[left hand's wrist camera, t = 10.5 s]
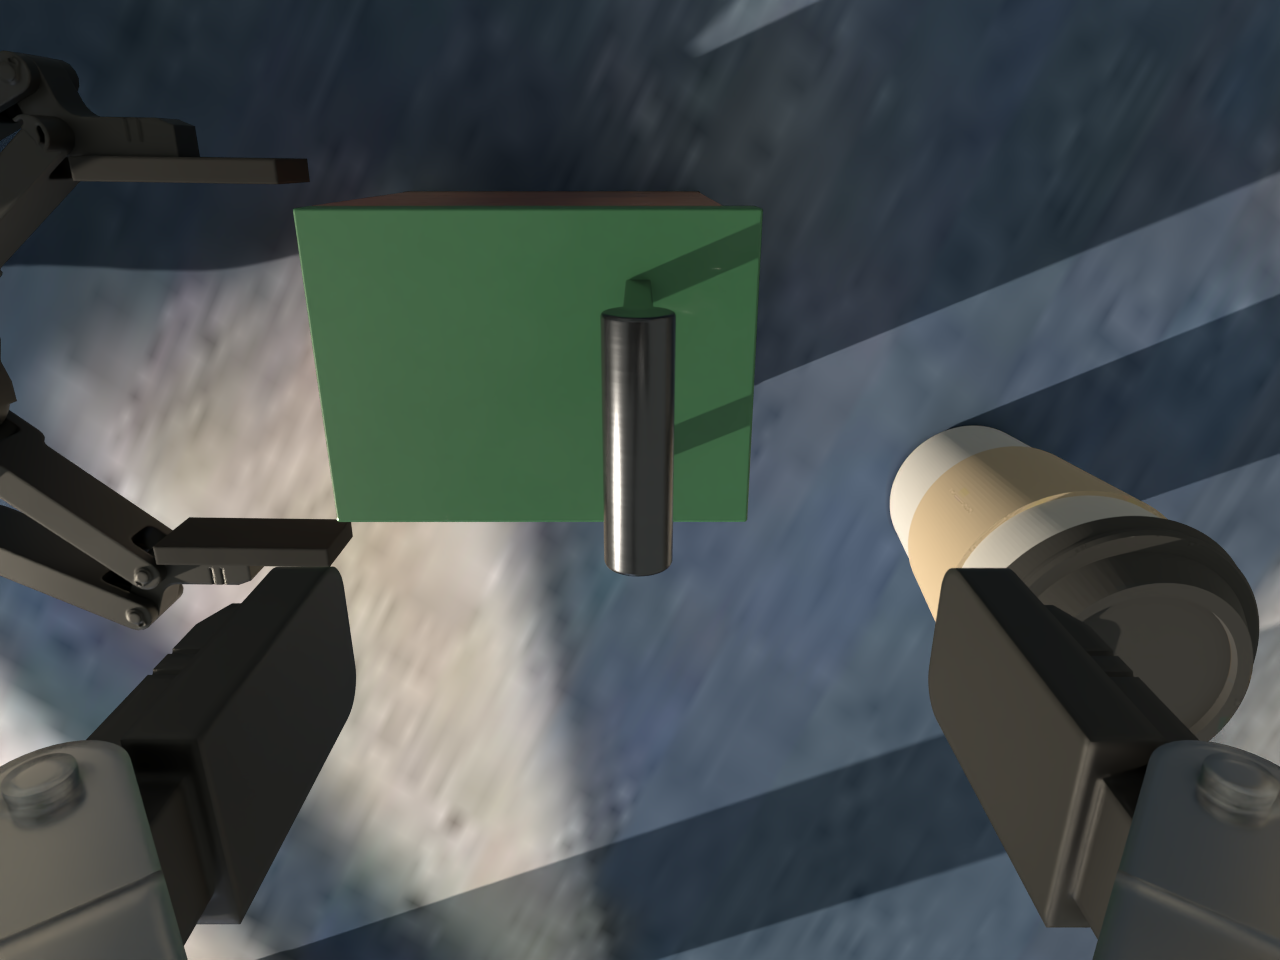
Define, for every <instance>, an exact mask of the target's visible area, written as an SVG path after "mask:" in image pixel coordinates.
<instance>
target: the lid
mask: <svg viewBox="0 0 1280 960" xmlns="http://www.w3.org/2000/svg"><path fill="white" fill-rule="evenodd" d="M293 213H294V220H295V227H296V234H297V241H298V248H299V255H300V262H301V269H302V276H303V283H304V290H305V297H306V304H307V311H308V318H309V325H310V332H311V339H312V346H313V353H314V360H315V367H316V374H317V381H318V388H319V395H320V402H321V409H322V416H323V423H324V430H325V437H326V444H327V451H328V458H329V465H330V472H331V479H332V486H333V493H334V499H335V506H336V513H337V520H338V522H604V560H605V563H606V565H607V567H608V568H609V569H611V570H612V571H614V572H616V573H619V574H623V575H628V576H649V575H654V574H658V573H660V572H663V571H664V570H666V569H667V568H668V567H669V566H670V565H671V563H672V549H673V522H745V521H747V512H748V492H749V473H750V453H751V433H752V414H753V394H754V374H755V354H756V335H757V315H758V295H759V276H760V256H761V236H762V217H763V210H762V209H761V208H759V207H756V206H307V207H300V208H295V209H293Z"/></svg>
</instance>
